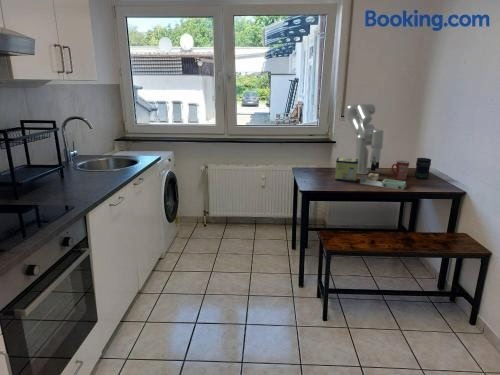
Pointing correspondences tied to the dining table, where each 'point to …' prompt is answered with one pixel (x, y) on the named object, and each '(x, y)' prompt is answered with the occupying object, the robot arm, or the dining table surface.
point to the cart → (393, 183)
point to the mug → (401, 170)
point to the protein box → (346, 169)
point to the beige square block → (373, 176)
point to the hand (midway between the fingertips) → (374, 169)
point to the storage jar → (422, 168)
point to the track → (375, 183)
